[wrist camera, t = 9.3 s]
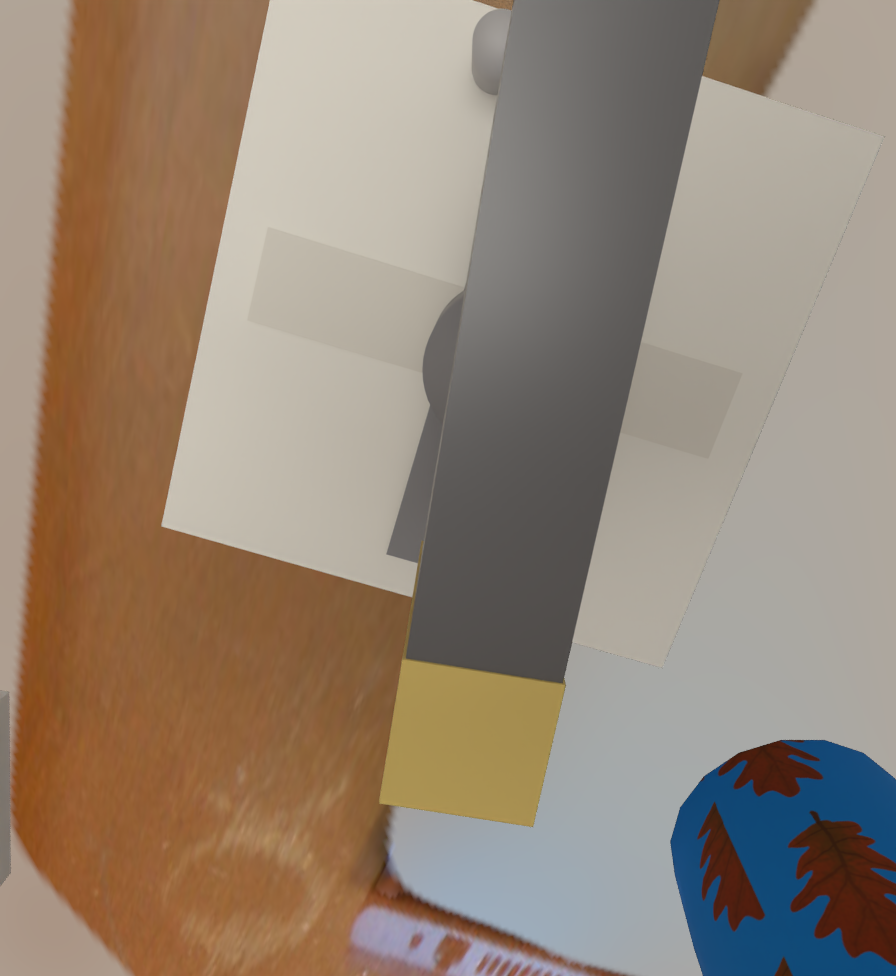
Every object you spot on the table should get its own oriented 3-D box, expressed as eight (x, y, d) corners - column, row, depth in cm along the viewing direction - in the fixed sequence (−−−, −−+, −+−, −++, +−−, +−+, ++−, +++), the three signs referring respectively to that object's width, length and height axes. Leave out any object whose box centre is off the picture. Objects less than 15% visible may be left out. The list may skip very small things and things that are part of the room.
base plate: (862, 142, 27) (1019, 96, 19) (653, 650, 32) (711, 771, 25) (293, -45, 26) (219, -174, 18) (175, 514, 31) (80, 596, 24)
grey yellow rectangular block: (497, 76, 19) (522, -65, 11) (615, 97, 19) (729, -27, 11) (410, 606, 23) (378, 803, 15) (509, 622, 23) (532, 827, 15)
